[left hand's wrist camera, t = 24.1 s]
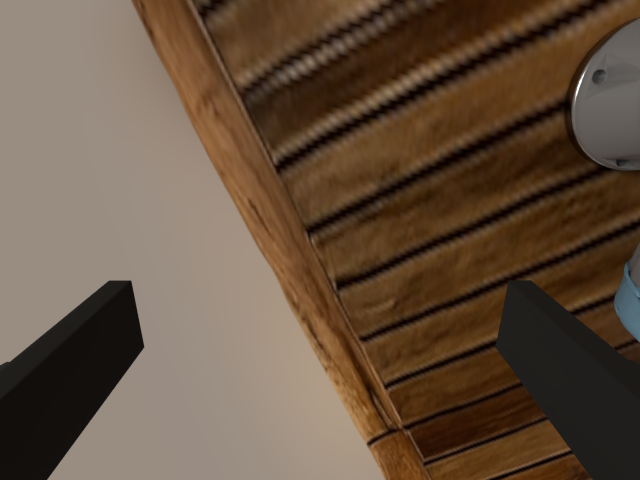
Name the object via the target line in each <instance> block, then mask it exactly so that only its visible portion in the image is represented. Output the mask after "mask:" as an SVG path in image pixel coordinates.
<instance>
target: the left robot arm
mask: <svg viewBox="0 0 640 480" xmlns="http://www.w3.org/2000/svg"><path fill="white" fill-rule="evenodd" d="M565 124H566V129H567V133H568V136H569V138H570V140H571V142H572V144H573V146H574V147H575V148H576V150H577V151H578V152H579V153H580V154H581V155H582V156H583V157H584V158H586V159H587V160H589V161H590V162H592V163H594V164H597V165H599V166H603V167H607V168H612V169H617V170H629V171H631V170H640V17H639V18H636V19H633V20H631V21H628V22H626V23H624V24H622V25H620V26H618V27H617V28H615V29H614V30H612V31H611V32H609V33H608V34H607V35H605V36H604V37H603V38H602V39H601V40H600V41H598V42H597V43H596V44H595V45H594V47H593V48H592V49H591V50H590V51H589V52H588V53H587V55H586V56H585V57H584V59H583V60H582V62H581V63H580V65H579V66H578V68H577V70H576V72H575V74H574V76H573V78H572V81H571V83H570V86H569V89H568V92H567V97H566V102H565ZM614 306H615V310H616V312H617V315H618V316H619V318H620V320H621V322H622V324H623V325H624V327H625V328H626V329H627V330H628V331H629V332H630V333H631V334H632V335H633V336H634V337H635V338H636V339H637V340H638V341H639V342H640V242H639V244H638V246H637V248H636V250H635V252H634V254H633V255H632V257H631V259H630V260H629V261H628V262H627V263H626V264H625V267H624V276H623V279H622V281H621V284H620V286H619V288H618V291H617V293H616V295H615V300H614ZM143 348H144V343H143V338H142V333H141V328H140V323H139V318H138V313H137V308H136V303H135V297H134V293H133V287H132V282H131V281H108V282H107V283H106V284H104V285H103V286H102V287H101V288H100V289H98V290H97V291H96V292H95V293H93V294H92V295H91V296H90V297H89V298H87V299H86V300H85V301H84V302H82V303H81V304H80V305H79V306H78V307H76V308H75V309H74V310H73V311H71V312H70V313H69V314H68V315H67V316H65V317H64V318H63V319H62V320H61V321H59V322H58V323H57V324H56V325H54V326H53V327H52V328H51V329H50V330H48V331H47V332H46V333H45V334H43V335H42V336H41V337H40V338H39V339H37V340H36V341H35V342H34V343H33V344H31V345H30V346H29V347H28V348H26V349H25V350H24V351H23V352H22V353H20V354H19V355H18V356H17V357H15V358H14V359H13V360H12V361H11V362H6V363H4V364H2V365H0V480H47V479H48V478H49V476H50V475H51V474H52V472H53V471H54V470H55V468H56V467H57V465H58V464H59V463H60V461H61V460H62V459H63V457H64V456H65V455H66V453H67V452H68V450H69V449H70V448H71V446H72V445H73V444H74V442H75V441H76V440H77V438H78V437H79V435H80V434H81V433H82V431H83V430H84V429H85V427H86V426H87V425H88V423H89V422H90V420H91V419H92V418H93V416H94V415H95V414H96V412H97V411H98V410H99V408H100V407H101V405H102V404H103V403H104V401H105V400H106V399H107V397H108V396H109V395H110V393H111V392H112V390H113V389H114V388H115V386H116V385H117V384H118V382H119V381H120V380H121V378H122V377H123V375H124V374H125V373H126V371H127V370H128V369H129V367H130V366H131V365H132V363H133V362H134V361H135V359H136V358H137V356H138V355H139V354H140V352H141V351H142V350H143ZM496 348H497V350H498V351H499V352H500V354H501V355H502V356H503V358H504V359H505V361H506V362H507V363H508V365H509V366H510V367H511V369H512V370H513V371H514V373H515V374H516V376H517V377H518V378H519V380H520V381H521V382H522V384H523V385H524V386H525V388H526V389H527V390H528V392H529V393H530V395H531V396H532V397H533V399H534V400H535V401H536V403H537V404H538V405H539V407H540V408H541V410H542V411H543V412H544V414H545V415H546V416H547V418H548V419H549V420H550V422H551V423H552V425H553V426H554V427H555V429H556V430H557V431H558V433H559V434H560V435H561V437H562V438H563V440H564V441H565V442H566V444H567V445H568V446H569V448H570V449H571V450H572V452H573V453H574V455H575V456H576V457H577V459H578V460H579V461H580V463H581V464H582V465H583V467H584V468H585V470H586V471H587V472H588V474H589V475H590V476H591V478H592V479H593V480H640V364H639V363H637V362H635V361H628V360H627V359H626V358H625V357H623V356H622V355H621V354H620V353H619V352H617V351H616V350H615V349H614V348H612V347H611V346H610V345H609V344H608V343H606V342H605V341H604V340H603V339H601V338H600V337H599V336H598V335H597V334H595V333H594V332H593V331H592V330H590V329H589V328H588V327H587V326H586V325H584V324H583V323H582V322H581V321H579V320H578V319H577V318H576V317H575V316H573V315H572V314H571V313H570V312H569V311H567V310H566V309H565V308H564V307H562V306H561V305H560V304H559V303H558V302H556V301H555V300H554V299H553V298H551V297H550V296H549V295H548V294H547V293H545V292H544V291H543V290H542V289H540V288H539V287H538V286H537V285H536V284H534V283H533V282H532V281H509V282H508V287H507V292H506V297H505V302H504V308H503V313H502V318H501V323H500V328H499V333H498V338H497V343H496Z"/></svg>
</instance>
